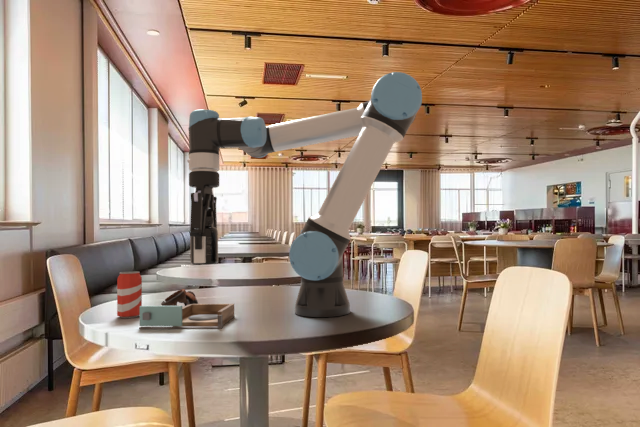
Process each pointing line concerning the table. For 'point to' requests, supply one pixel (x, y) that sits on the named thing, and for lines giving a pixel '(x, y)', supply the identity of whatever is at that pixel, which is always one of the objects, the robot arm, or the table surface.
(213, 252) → the supplement bottle
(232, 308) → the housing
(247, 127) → the robot arm
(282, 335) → the table surface
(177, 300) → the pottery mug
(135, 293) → the beverage can
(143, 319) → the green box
